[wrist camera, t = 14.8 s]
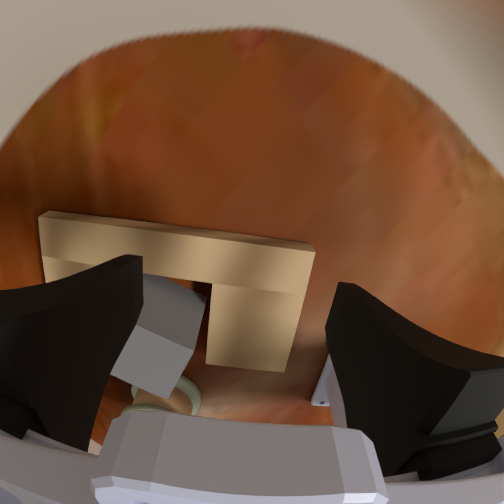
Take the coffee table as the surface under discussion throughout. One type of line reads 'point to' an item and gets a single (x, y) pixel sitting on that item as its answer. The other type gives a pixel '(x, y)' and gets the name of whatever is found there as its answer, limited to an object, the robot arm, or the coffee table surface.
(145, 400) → the bobbin
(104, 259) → the notched board
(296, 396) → the coffee table surface
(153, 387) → the block
